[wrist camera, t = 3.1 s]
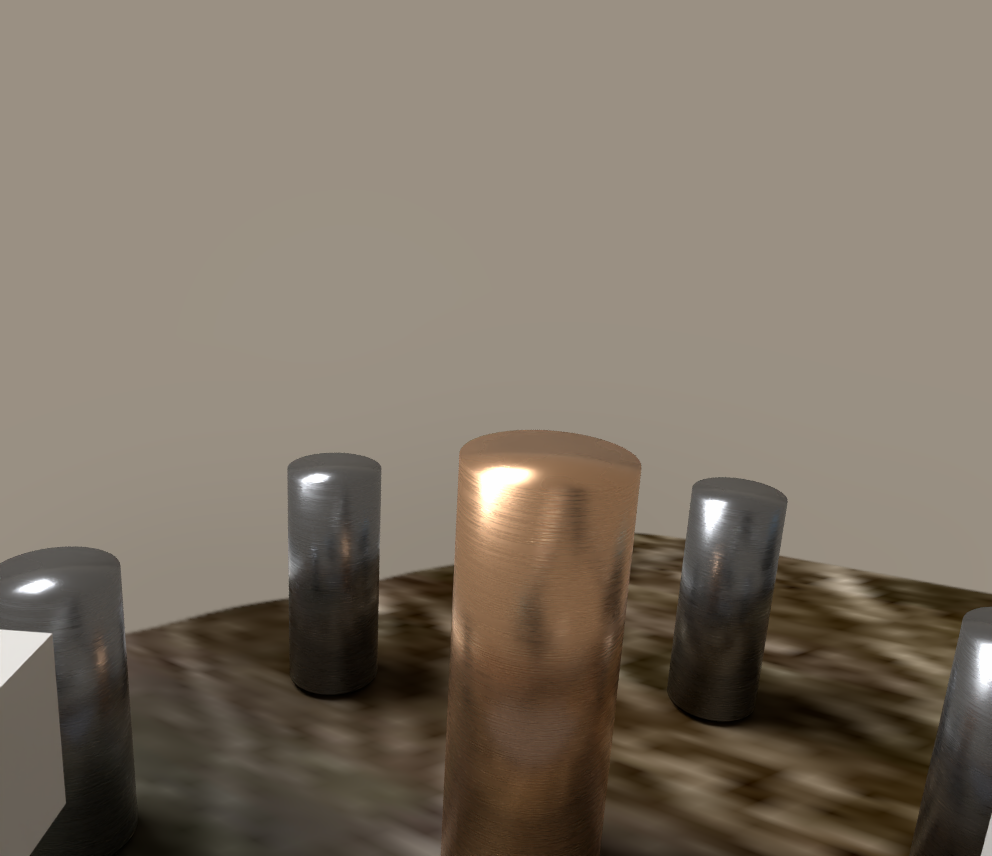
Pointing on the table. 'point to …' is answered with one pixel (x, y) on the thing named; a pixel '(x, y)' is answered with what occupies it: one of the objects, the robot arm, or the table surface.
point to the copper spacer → (536, 641)
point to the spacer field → (354, 645)
